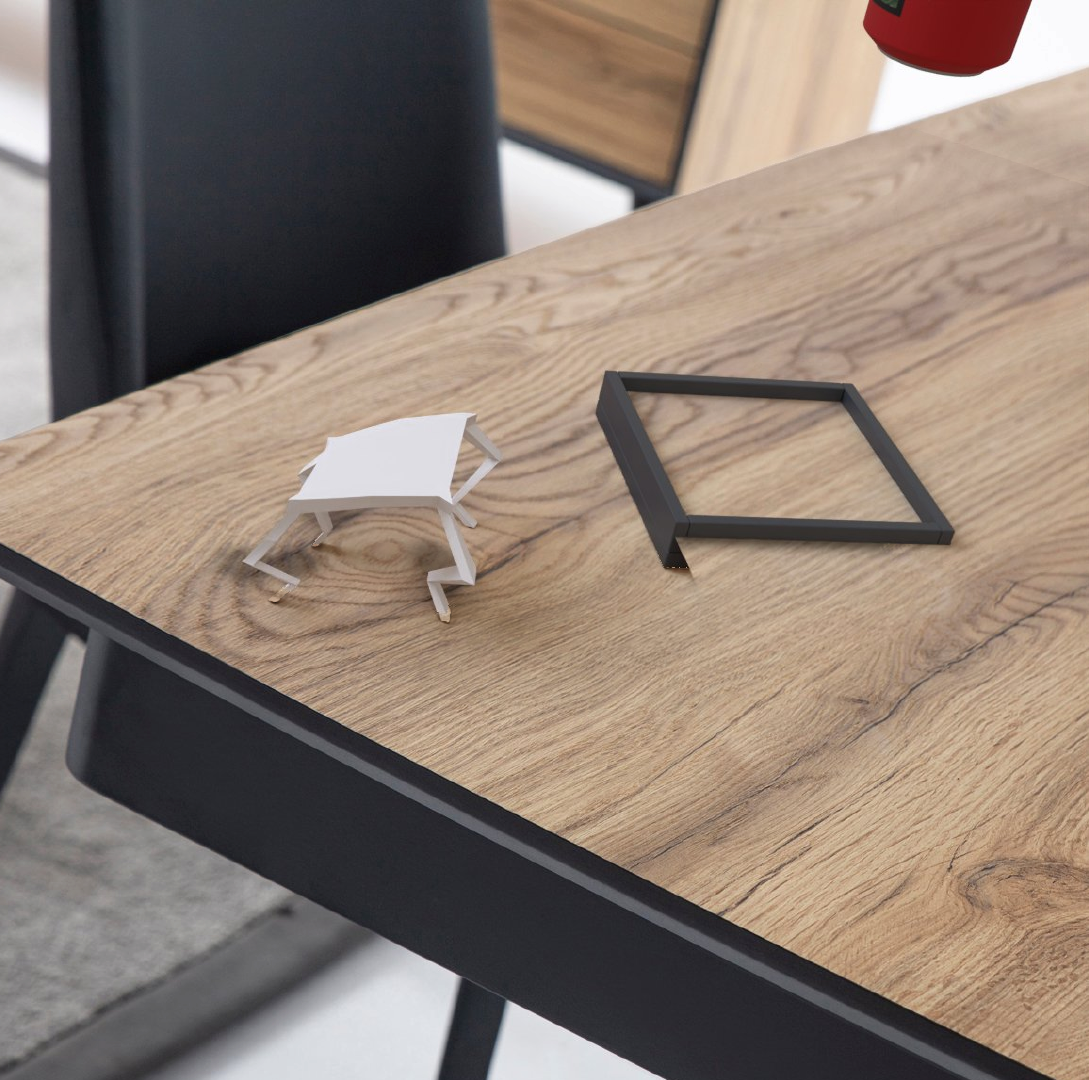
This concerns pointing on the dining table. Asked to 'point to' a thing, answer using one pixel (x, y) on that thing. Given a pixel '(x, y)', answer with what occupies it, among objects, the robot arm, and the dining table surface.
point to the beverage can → (947, 33)
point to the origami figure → (391, 485)
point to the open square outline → (671, 520)
